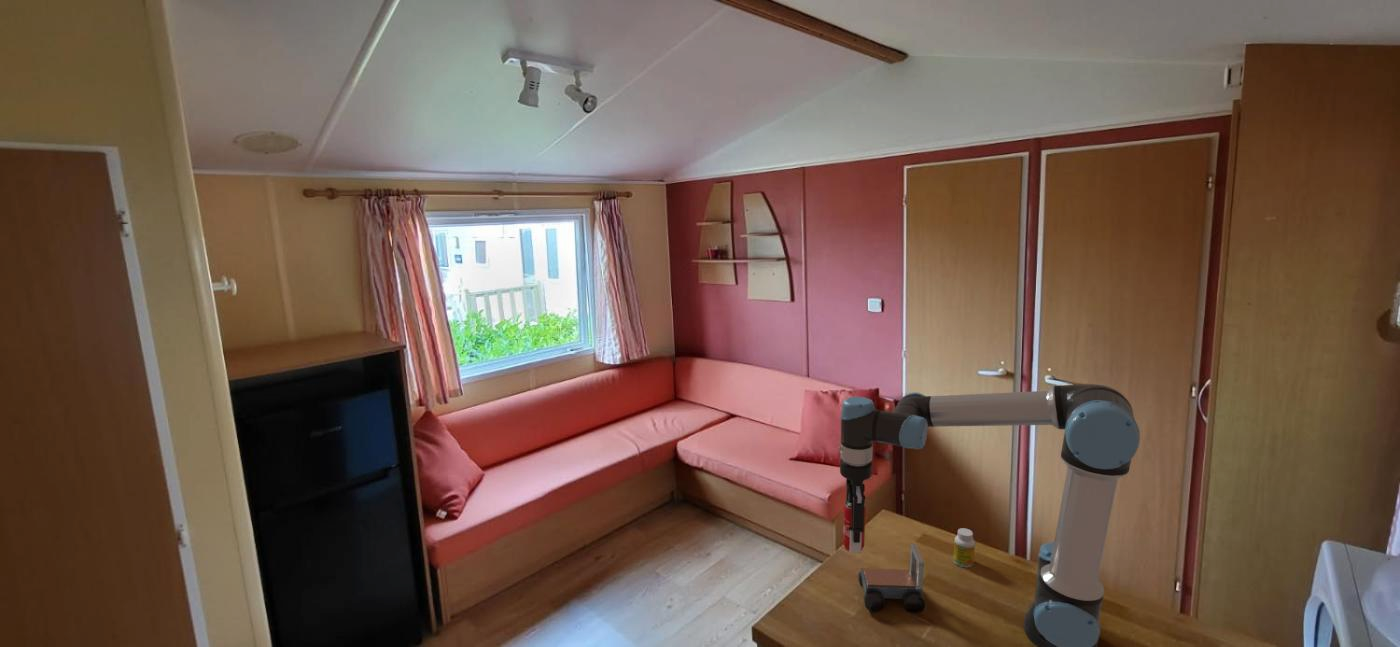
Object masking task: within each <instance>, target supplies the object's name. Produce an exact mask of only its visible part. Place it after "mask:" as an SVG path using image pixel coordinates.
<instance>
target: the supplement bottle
mask: <svg viewBox="0 0 1400 647" xmlns="http://www.w3.org/2000/svg"><path fill="white" fill-rule="evenodd" d="M975 548H976V541H975V539H974V533H973V531H972V530H971V529H968V528H964V527H963V528H961V527H960V528H958V530H957V535H956V536H955V538H954V544H953V556H952V559H953V562H954V564H955V565H956V566H958V565H959V567H961V568H971V567H973V566H974V562H975V560H974V559H975ZM972 565H973V566H972Z"/></svg>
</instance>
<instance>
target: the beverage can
mask: <svg viewBox="0 0 1400 647" xmlns="http://www.w3.org/2000/svg"><path fill="white" fill-rule="evenodd" d="M848 527H851V502H850V501H849V500H848V501H846V500H845V502H844V506H843V529H842V530H843V532H842V534H843V535H842V536H843V537H842V543H843V546H844V549H845V550H846V551H848V552H849V553H850V530H848ZM865 529H866V506H865V504H864V532H862V543H861V552H862V551H863V549H864V547H865V537H866V536H865V534H866V530H865Z"/></svg>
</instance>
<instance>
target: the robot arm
mask: <svg viewBox="0 0 1400 647" xmlns="http://www.w3.org/2000/svg"><path fill="white" fill-rule="evenodd" d="M989 426H990V427H991V426H992V427H996V426H997V427H999V426H1001V427H1002V426H1004V427H1005V426H1052V427H1054V428H1055V429H1057V430H1064V433H1063V439H1062V440H1063V441H1062V447H1061V452H1060V459H1061V460H1062V461H1063V463H1064V464H1065V465H1066V467H1067V469H1066V472H1065V480H1064V484H1063V485H1064V486H1063V491H1062V496H1061V502H1060V508H1059V513H1058V518H1057V525H1056V531H1055V536H1054V541H1053V542H1052V541H1051V542H1050V541H1049V542H1046V543H1043V544H1042V545H1041V546H1040V549H1039V553H1038V554H1037V556H1038V564H1037V572H1036V573H1037V575H1036V581H1035V582H1036V583H1035V592H1034V594H1035V595H1034V600H1033V602H1032V603H1031V605H1030V606H1029V609H1028V610H1027V612H1026V613H1025V616H1024V621H1023V631H1024V633H1025V635H1026V636H1027V638H1028V640H1030V642H1032V643H1033V644H1034V646H1036V647H1098V644H1099V638H1100V635H1101V626H1100V616H1101V610H1102V604H1103V599H1104V595H1105V588H1104V586H1103V584H1102V582H1101V581H1100V580H1099V574H1100V568H1101V563H1102V558H1103V553H1104V549H1105V545H1106V544H1105V543H1106V538H1107V533H1108V529H1109V525H1110V519H1111V513H1112V509H1113V505H1114V498H1115V494H1116V489H1117V484H1118V479H1120V478H1123V477H1124V476H1127V475H1128V474H1129V472H1130V468H1131V467H1130V466H1131V463H1132V459H1133V458H1134V456H1135V455H1136V453H1137V451H1138V449H1139V445H1140V440H1141V438H1140V437H1141V434H1140V428H1139V426H1138V423H1137V421H1136V419H1135V415H1134V411H1133V408H1132V405H1131V403H1130V401H1129V400H1128V399H1127V397H1125V395H1124V394H1122V393H1121V392H1120V391H1119V390H1117V389H1115V388H1113V387H1110V386H1107V385H1102V384H1093V383H1092V384H1091V383H1086V384H1083V383H1082V384H1068V385H1067V384H1066V385H1065V384H1064V385H1052V386H1051V387H1050V388H1049V389H1048V390H1037V391H1033V390H1032V391H1018V392H1017V391H1015V392H994V393H976V394H975V393H974V394H954V395H952V394H951V395H930V396H928V395H924V394H922V393H920V392H917V391H916V392H913V391H911V392H909V393H907V394H905V395H904V396H902V397H901V398H900V400H899V401H898V402H897V405H895V407H894V408H893V410H892V411H885V410H880V409H875V403H874V402H873V400H872V399H870V398H867V397H864V396H850V397H846V398H845V399H844V400H843V401H842V403H841V414H840V446H838V447H837V450H838V451H839V452H840V460H839V462H840V463H839V473H840V475H841V476H842V477H843V478H845V484H846V489H845V494H846V495H845V502H846V501H848V500H849V501H850V502H851V527H848V530H850V552H849V553H850V554H853V553H855V554H862V551H861V543H862V532H864V505H865V500H866V495H865V491H866V489H865V488H866V487H865V485H866V484H864V481H866V480H869V479H870V478H871V477H872V474H873V473H872V470H873V463H872V461H873V451H874V449H873V448H874V447H873V446H874V444H873V442H875V443H882V444H884V445H885V444H887V445H892V446H894V447H895V446H896V447H901V448H904V449H914V450H921V449H923V448H924V446H925V445H926V441H927V439H928V438H927V437H928V428H936V427H938V428H939V427H989Z"/></svg>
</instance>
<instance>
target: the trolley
mask: <svg viewBox="0 0 1400 647" xmlns="http://www.w3.org/2000/svg"><path fill="white" fill-rule="evenodd" d="M909 565H910V566H909V569H898V568H896V569H895V568H894V569H893V568H865V567H864V568H863V567H862V568H860V571H859V572H858V575H857V578H858V582H859V585H860V587H862V588H863V592H864V594H863V603H864V606H865V608H866V610H868V611H870V612H872V613H878V612H880V611H882V610H884V608H885V606H886V601H885V599H897V600H898V599H899V600H900V599H902V601H903V604H904V606H905V609H906V611H908V612H909V613H912V614H919V613H921V612H923V611H924V610H925V608H926V601H925V598H924V596H923V587H924V585H923V584H924V571H925V570H924V568H925V561H924V559H923V557H922V555H921V552H920V550H919V547H918V545H917V543H911V544H910V564H909ZM875 611H876V612H875Z"/></svg>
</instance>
